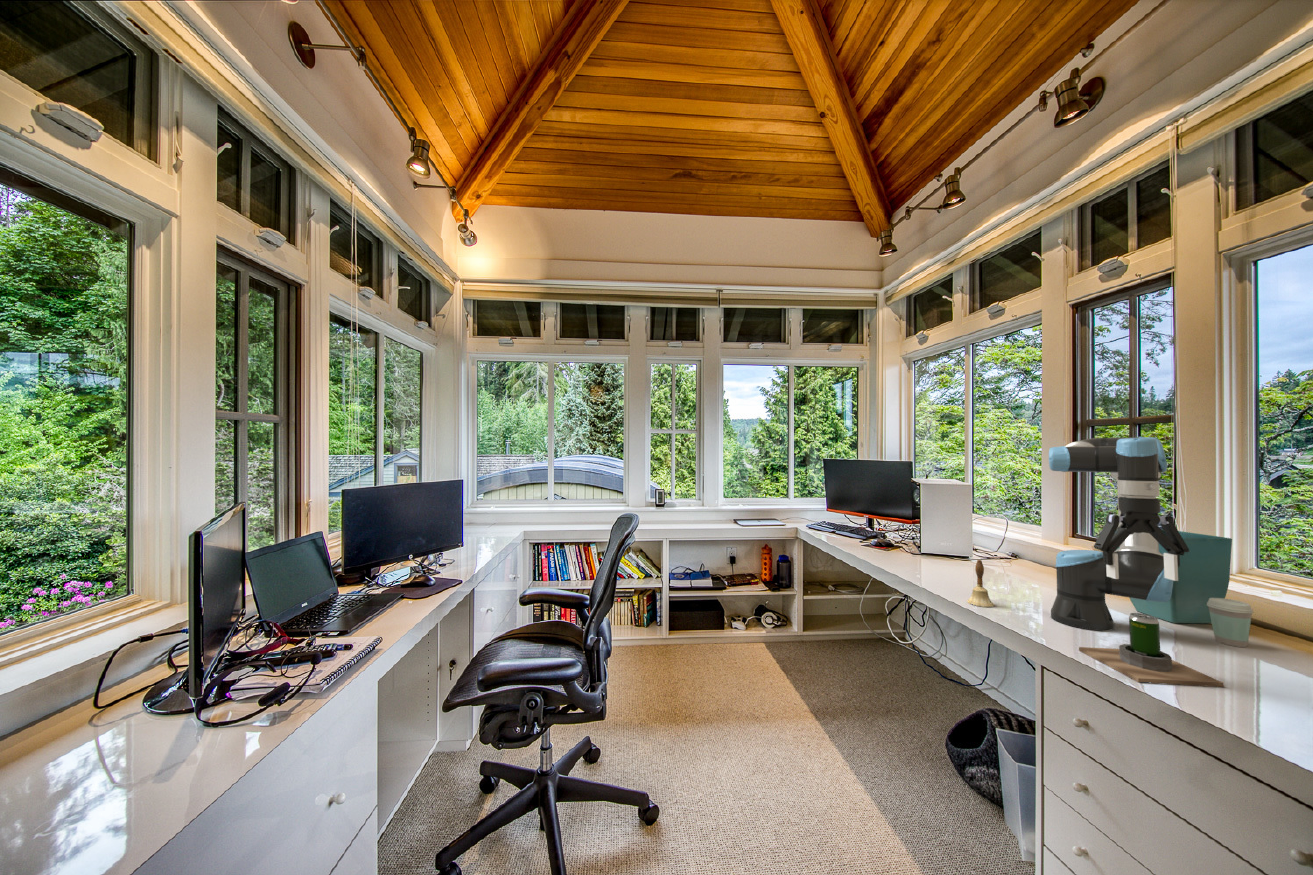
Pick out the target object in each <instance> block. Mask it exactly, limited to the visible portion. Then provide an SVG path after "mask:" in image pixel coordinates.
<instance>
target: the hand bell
mask: <svg viewBox="0 0 1313 875" xmlns="http://www.w3.org/2000/svg"><path fill="white" fill-rule="evenodd" d="M974 569H975V574H976V576H977V577H976V579H977V580H976V581H977V582H976V587H973V588H972V591H971V592H972V593H971V596H970V597H969V598H968V599H967V600H966V603H967V602H968V604H969V605H971V604H973V605H972V606H975V605H976V606H975V607H980V606H981V608H994V607H995V603H994V602H992V600H991V599H990V597H989V593H988V592H989V591H988V590H987V589H986V588H984V586H983V584H984V582H983V577H984V572H985V568H984V564H983V561H982V560H981V559H977V561H976V564H975V568H974Z"/></svg>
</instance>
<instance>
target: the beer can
mask: <svg viewBox="0 0 1313 875" xmlns="http://www.w3.org/2000/svg"><path fill="white" fill-rule="evenodd" d="M1128 620H1129V621H1128V623H1129V625H1128V626H1129V627H1128V628H1129V644H1130V649H1131V652H1133V653H1136V654H1140V655H1143V656H1149V657H1157V658H1161V652H1160V651H1161V636H1160V634H1161V632H1160V622H1159V621H1158V620H1159V618H1157V617H1154V616H1151V615H1148V614H1145V613H1141V612H1139V613H1138V612H1131V613H1130V615H1129V617H1128Z"/></svg>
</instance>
